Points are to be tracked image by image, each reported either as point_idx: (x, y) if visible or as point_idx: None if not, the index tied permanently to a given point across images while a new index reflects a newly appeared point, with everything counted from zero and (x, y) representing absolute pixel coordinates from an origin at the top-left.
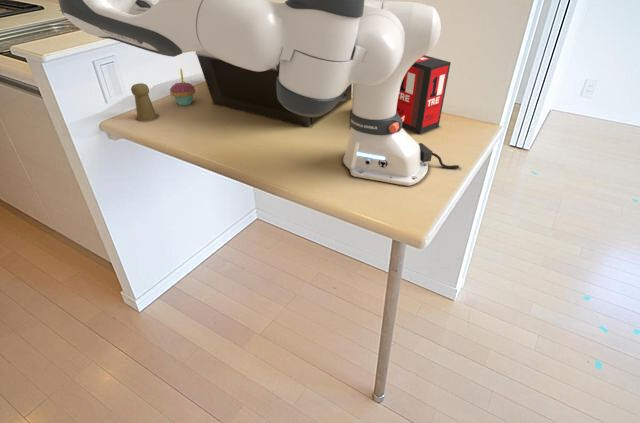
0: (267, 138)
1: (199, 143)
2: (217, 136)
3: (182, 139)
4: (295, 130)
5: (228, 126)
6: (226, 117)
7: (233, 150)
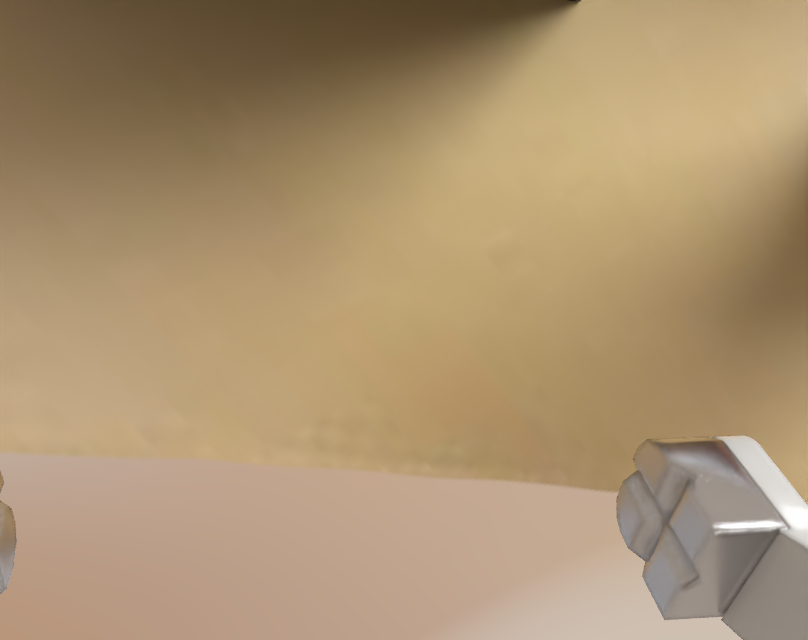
0: (488, 172)
1: (234, 357)
2: (264, 253)
3: (118, 362)
4: (547, 51)
5: (238, 132)
6: (152, 41)
7: (429, 341)
